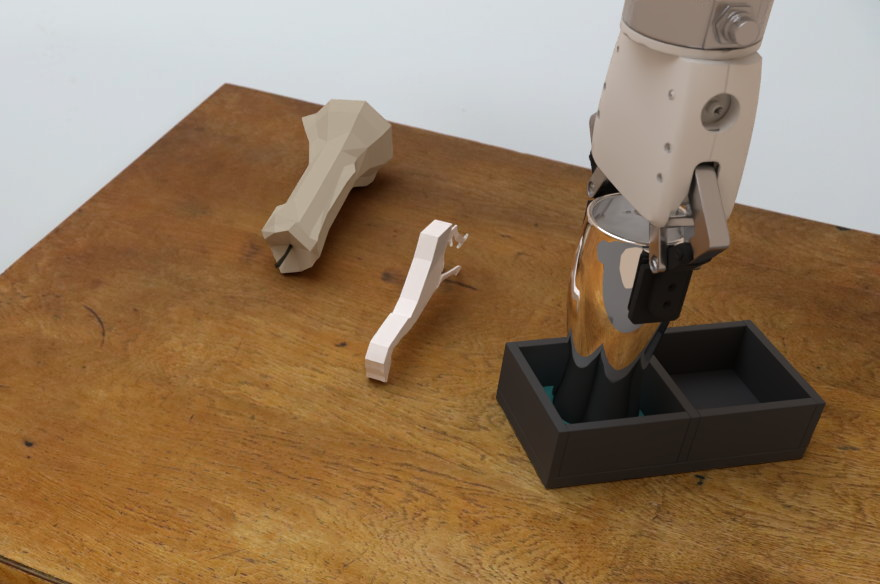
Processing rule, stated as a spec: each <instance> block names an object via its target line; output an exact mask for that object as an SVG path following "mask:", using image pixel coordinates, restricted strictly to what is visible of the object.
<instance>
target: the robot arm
mask: <svg viewBox="0 0 880 584" xmlns="http://www.w3.org/2000/svg"><path fill="white" fill-rule="evenodd" d="M774 2H775V0H624V3H623V8H622V13H621V15H620V16H621V17H620V21H619V33H618V36H617V39H616V41H615V44H614V47H613V51H612V54H611V57H610V61H609V64H608V68H607V72H606V75H605V78H604V82H603V87H602V89H601V94H600V97H599V100H598V101H599V102H598V106H597V109H596V110H597V111H596V112H594V113H592V114H591V115H590V116H589V120H588V126H589V135H590V137H589V138H590V144H591V148H590V151H589V154H588V161H589V162H590V169H591V176H590V178H589V179H588V180H587V183H586V194H587V196H588V200H587V203H586V207H585V212H584V217H583V221H582V224H581V225H582V226H583V223H584V220H585V217H586V213H587V208H588V206H589V204H590V203H591V202H592V201H593V200H595V199H596V198H598V197H600V196H603V195H606V194H611V193H618V192H620V193H621V194H622V195H623V196H624V197H625V198H626V200H627V201H628V202H629V203H630V204H631V205H632V206H633V207H634V208H635V209H636V210H637V211H638V213H639V214H640V215H642V216H643V217H644V218H645V219H646V220H647V221H648V222H649V264H641V267H640V271H639V274H638V278H637V282H636V286H635V290H634V294H633V297H632V301H631V305H630V309H629V313H628V318H629V320H630V321H631V322H632V323H633V324H635V325H637V324H647V323H657V322H668V321H670V322H675V321H677V320H678V319H679V318H680V316H681V313H682V309H683V306H684V303H685V300H686V296H687V293H688V289H689V287H690V283H691V281H692V280H691V279H692V276H693V273H694V271H699V270H700V269H701V268H702V266H703V265H706V264H708V263H710V262H711V261H712V259H713V258H715V257H716V256H719V255H720V254H722V253H723V252H724V251H727V250H728V249H729V247H730V244H731V236H730V231H729V228H728V227H729V226H728V222H727V221H728V220H729V218H730V216H731V214H732V212H733V210H734V206H735V203H736V200H737V197H738V194H739V189H740V186H741V182H742V179H743V175H744V171H745V166H746V164H747V158H748V155H749V150H750V146H751V141H752V138H753V137H752V136H753V133H754V132H753V131H754V127H755V124H756V117H757V111H758V105H759V100H760V99H759V98H760V91H761V83H762V68H763V56H762V55H761V54H760V53H759V52H758V51H759V50H760V49H761V46H762V43H763V39H764V35H765V33H766V29H767V25H768V22H769V19H770V15H771V13H772V9H773V5H774ZM680 206H685V210H686V215H679V216H670V214H671V211H677V209H678V208H679V207H680ZM582 226H581V227H582ZM676 227H684V243H679V244H677V245H675V246H674V247H672V248H670V249H668V237H667V228H676Z"/></svg>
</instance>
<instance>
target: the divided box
mask: <svg viewBox="0 0 880 584" xmlns="http://www.w3.org/2000/svg"><path fill="white" fill-rule="evenodd" d="M566 339H567V336H560V337H549V338H538V339H537V338H536V339H528V340H527V339H526V340H519V341H518V340H516V341H506V342H505V346H504V351H503V355H502V361H501V365H500V371H499V377H498V383H497V389H496V393H495V399H496V401H497V403H498V404H499V407H500V408H501V410H502V412H503V413H504V415H505V417H506V420H507V421H508V422H509V424H510V426H511V428H512V430H513V432H514V433H515V435H516V438H517V439H518V441H519V442H520V445H521V447H522V449H523V451H524V452H525V454H526V455H527V457H528V459H529V461H530V463H531V464H532V467H533V468H534V470H535V472H536V474H537V476H538V477H539V479H540V482H541V483H542V485H543V487H544V489H545V490H549V489H557V488H559V489H560V488H567V487H576V486H583V485H590V484H591V485H592V484H600V483H608V482H615V481H623V480H624V481H625V480H632V479H641V478H649V477H656V476H666V475H674V474H681V473H682V474H684V473H691V472H700V471H707V470H715V469H716V470H717V469H724V468H732V467H741V466H742V467H743V466H749V465H757V464H765V463H767V464H768V463H774V462H775V463H776V462H782V461H783V462H784V461H790V460H791V461H792V460H799V459H803V458H804V456H805V454H806V451H807V450H808V449H807V448H808V447H809V444H810V442H811V440H812V438H813V435H814V433H815V431H816V428H817V426H818V424H819V421H820V419H821V416H822V414H823V413H824V410H825V407H826V404H827V402H826V400H825V399H824V398H823V397H822V396H821V395H820V394H819V393H818V392H817V391H816V390H815V389H814V387H813V386H812V385H811V384H810V383H809V382H808V381H807V379H805V378H804V376H803V375H802V374H801V373H800V372H799V370H797V369H796V368H795V366H793V364H792V363H791V362H790V361H789V360H788V359H787V358H786V357H785V356H784V355H783V353H782V352H781V351H779V349H778V348H777V347H776V346H775V345H774V344H773V343H772V341H771V340H770V339H769V338H768V337H767V336H766V335H765V334H764V333H763V331H762V330H761V329H760V328H759V327H758V326H757V325H756V324H755V323H754V322H753V320H751V319H742V320H732V321H722V322H712V323H700V324H691V325H690V324H689V325H679V326H668V327H667V329H666V331H665V333H664V335H663V337H662V339H661V340H660V342H659V344H658V346H657V348H656V350H655V352H654V354H653V355H652V357H651V359H650V361H649V363H648V366H647V368H646V370H645V373H644V376H643V380H642V384H641V394H640V411H639V417H631V418H622V419H613V420H604V421H595V422H586V423H576V424H565V423H564V422H563V420H562V419H561V417H560V415H559V414H558V412H557V410H556V409H555V407H554V405H553V404H552V402H551V400H550V394H551V391H552V389H553V387H554V385H555V383H556V380H557V378H558V376H559V374H560V372H561V369H562V366H563V363H564V359H565V353H566Z"/></svg>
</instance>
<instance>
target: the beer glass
mask: <svg viewBox="0 0 880 584" xmlns="http://www.w3.org/2000/svg"><path fill="white" fill-rule="evenodd" d="M592 200H593V201H592V202H591V203H590V204H589V206H588V208H587V213H586V217H585V220H584V219H583V221H584V223H583V222H582V225H583V226H581V230H580V232H579V236H578V239H577V243H576V246H575V250H574V254H573V257H572V262H571V266H570V272H569V279H568V283H567V294H566V295H567V297H566V337H567V339H566V353H565V359H564V363H563V366H562V369H561V372H560V374H559V376H558V378H557V380H556V383H555V385H554V387H553V389H552V391H551V394H550V400H551V402H552V404H553V405H554V407H555V409H556V410H557V412H558V414H559V415H560V417H561V419H562V420H563V422H564V423H565V424H576V423H586V422H595V421H604V420H613V419H622V418H631V417H639V411H640V394H641V384H642V380H643V376H644V373H645V370H646V368H647V366H648V363H649V361H650V359H651V357H652V355H653V354H654V352H655V350H656V348H657V346H658V344H659V342H660V340H661V339H662V337H663V335H664V333H665V331H666V329H667V327H669V325H670V323H671V321H668V322H657V323H647V324H637V325H635V324H633V323H632V322H631V321H630V320H629V318H628V313H629V309H630V305H631V301H632V297H633V294H634V290H635V286H636V282H637V278H638V274H639V271H640V267H641V264H649V222H648V221H647V220H646V219H645V218H644V217H643V216H642V215H640V214H639V213H638V211H637V210H636V209H635V208H634V207H633V206H632V205H631V204H630V203H629V202H628V201H627V200H626V198H625V197H624V196H623V195H622V194H621V193H620V192H618V193H611V194H606V195H603V196H600V197H598V198H596V199H595V200H594V199H592ZM679 215H686V208H684V207H682V205H680V207H679V208H678V209H677V211H671V214H670V216H679ZM667 237H668V249H670V248H672V247H674V246H675V245H677V244H679V243H684V227H676V228H667Z"/></svg>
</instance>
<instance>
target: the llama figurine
mask: <svg viewBox="0 0 880 584" xmlns="http://www.w3.org/2000/svg"><path fill="white" fill-rule="evenodd" d="M469 236H470V234H469V233H467V232H466V233H465V235H464V236H462V235H461V233H460V232H459V229H458V225H457V224H454V226H453V223H450V222H447V221H443V220H440V219H439V220H438V219H434V220H433V221H432V222H430V223H429V224H428V225H427V226H426V227H425V228H424V229H423V230H421V231H420V233H419V237H418V239H417V244H416V248H415V251H414V255H413V259H412V260H411V265H410V267H409V269H408V273H407V275H406V279H405V281H404V283H403V287H402V290H401V292H400V295H399V298H398V300H397V302H396V304H395V306H394V308H393V310H392V312H390V313H389V315H388V316H387V317H386V318H385V320H384V321H383V322H382V324H381V325H380V326H379V328H378V330H377V331H376V332H375V334H374V335H373V336H372V338H371V340H370V341H369V344H368V347H367V350H366V353H365V357H364V362H365V363H364V368H365V378H370V379H374V380H377V381H380V382H383V383H388V377H389V374H390V370H391V365H392V355H393V352H394V349H395V348H396V346H398V344H399V343H400V341H401V340H402V338H404V337H405V336H406V335H407V334H408V333H409V332H410V330H411V329H412V328H413V326H414V325H415V324H416V322H417V321H418V319H419V317H420V316H421V314H423V313H422V312H423V311H424V309H425V308H426V307H427V305H428V302H429V301H430V300H431V298H432V297H433V295H434V293H435V292H436V291H437V290H438V289H439V287H440V285H441V283H442V282H443V281H444V280H446V279H447V278H449V277H450V276H452V275H453V276H454V277H457V275H458V274H459V273H460V271H461V269H462V266H461V265H456V266H454V267H452V268H451V269H450V270H447V271H446V272H444V267H445V262H446V261H445V254H446V253H445V252H446V249H447V247H448V245H449V247H453V245H454V244H453V238H454V241H455V242H456V243H458V244H457V245H456V248H457V249H460V248H461V247H462V246H463V245H464V243H465V242H466V241H467V239H468V238H469ZM443 272H444V273H443Z"/></svg>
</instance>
